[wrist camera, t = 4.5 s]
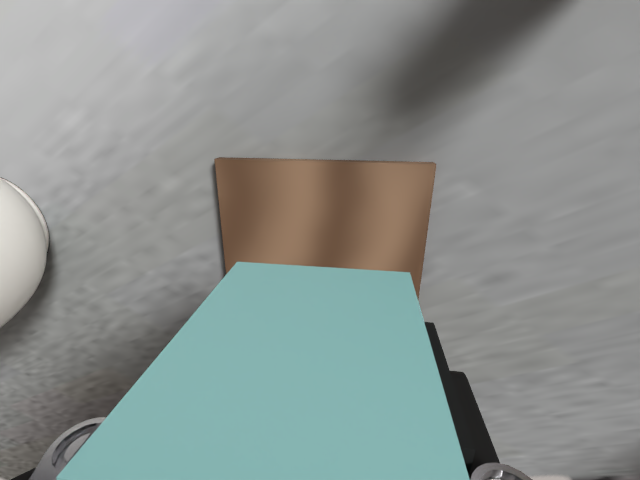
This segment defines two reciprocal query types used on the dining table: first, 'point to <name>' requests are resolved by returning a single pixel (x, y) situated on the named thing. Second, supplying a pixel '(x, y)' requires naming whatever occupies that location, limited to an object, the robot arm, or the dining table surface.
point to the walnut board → (326, 213)
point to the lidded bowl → (19, 249)
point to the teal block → (286, 387)
